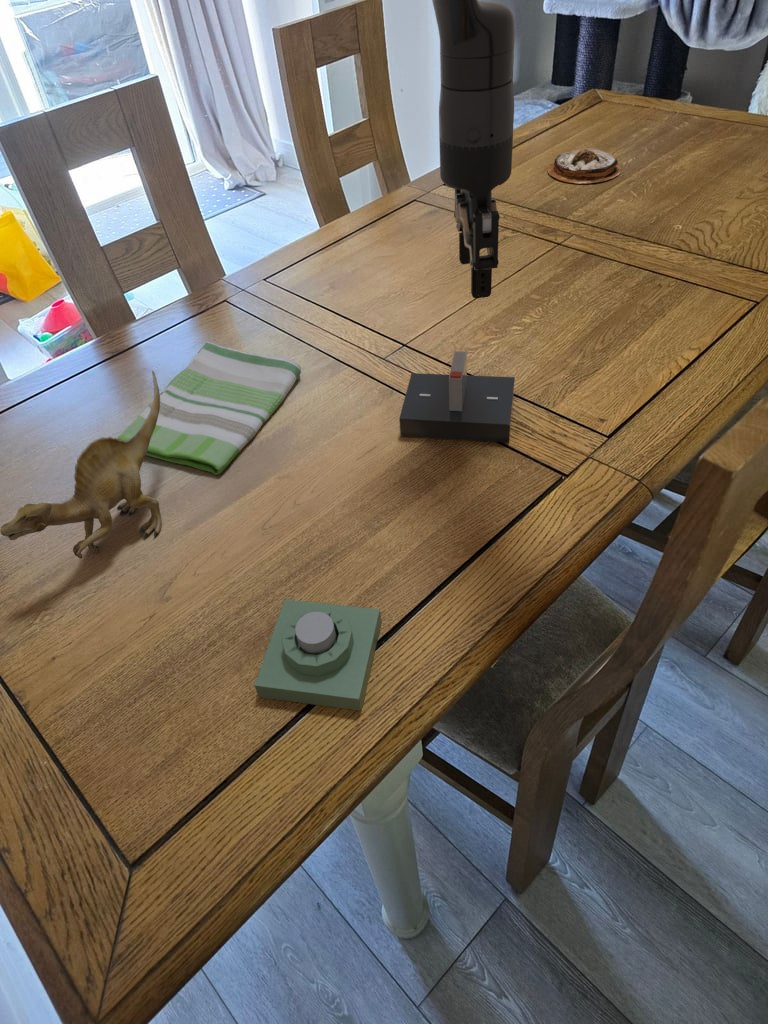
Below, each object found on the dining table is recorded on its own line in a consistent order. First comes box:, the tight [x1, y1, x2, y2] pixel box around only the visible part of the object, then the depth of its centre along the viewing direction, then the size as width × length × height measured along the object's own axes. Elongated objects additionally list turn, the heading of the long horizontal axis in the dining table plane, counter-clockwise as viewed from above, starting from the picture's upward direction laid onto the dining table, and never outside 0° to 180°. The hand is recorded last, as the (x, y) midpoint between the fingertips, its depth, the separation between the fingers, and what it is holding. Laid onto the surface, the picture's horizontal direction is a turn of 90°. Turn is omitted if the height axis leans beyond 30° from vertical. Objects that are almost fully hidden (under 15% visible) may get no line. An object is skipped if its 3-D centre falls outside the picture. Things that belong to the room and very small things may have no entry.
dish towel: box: [117, 340, 302, 476], centre depth 97 cm, size 17×23×4 cm
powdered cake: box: [547, 147, 622, 185], centre depth 144 cm, size 15×15×4 cm
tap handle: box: [449, 350, 468, 411], centre depth 89 cm, size 6×2×5 cm, turn 169°
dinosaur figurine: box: [0, 370, 163, 559], centre depth 79 cm, size 8×26×13 cm, turn 155°
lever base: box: [398, 372, 516, 444], centre depth 92 cm, size 14×10×3 cm
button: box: [295, 612, 336, 654], centre depth 65 cm, size 4×4×2 cm
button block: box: [254, 598, 383, 712], centre depth 67 cm, size 10×10×4 cm
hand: (474, 278), depth 83 cm, fingers open, 8 cm apart
